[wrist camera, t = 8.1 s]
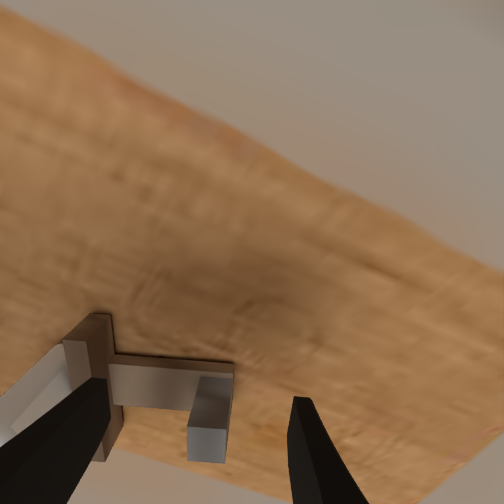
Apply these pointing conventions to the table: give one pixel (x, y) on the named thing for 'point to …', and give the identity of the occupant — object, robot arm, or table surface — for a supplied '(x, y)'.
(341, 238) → the table surface
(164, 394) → the grey hook bracket
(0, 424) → the eye dropper bottle
